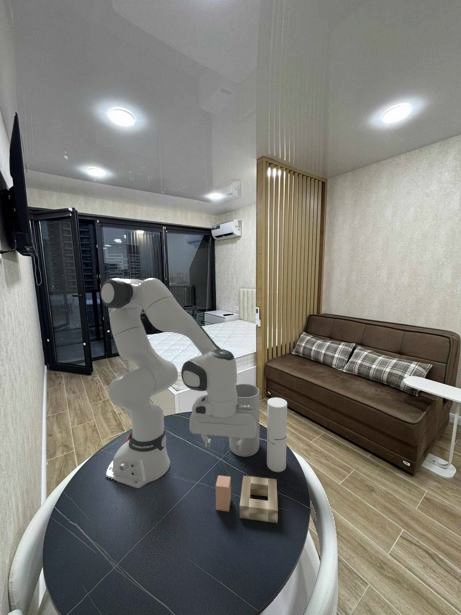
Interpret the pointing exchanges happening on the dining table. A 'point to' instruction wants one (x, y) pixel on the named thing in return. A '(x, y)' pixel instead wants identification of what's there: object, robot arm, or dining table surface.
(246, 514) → the socket block
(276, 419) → the cylindrical container
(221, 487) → the peg
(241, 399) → the cylinder vase
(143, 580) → the dining table surface
